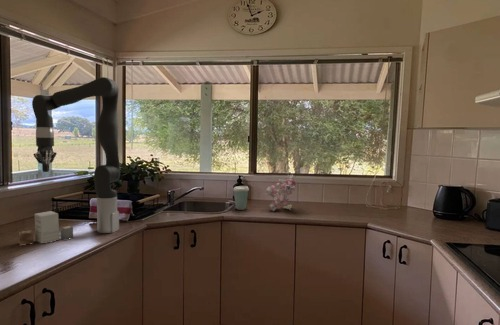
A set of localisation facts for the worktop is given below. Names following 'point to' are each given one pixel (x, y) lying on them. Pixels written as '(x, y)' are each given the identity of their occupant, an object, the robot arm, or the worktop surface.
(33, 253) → the worktop surface
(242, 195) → the disposable coffee cup
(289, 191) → the flower
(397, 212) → the worktop surface
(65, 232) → the slate marked cylinder
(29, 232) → the walnut marked block
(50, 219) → the supplement box
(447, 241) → the worktop surface
